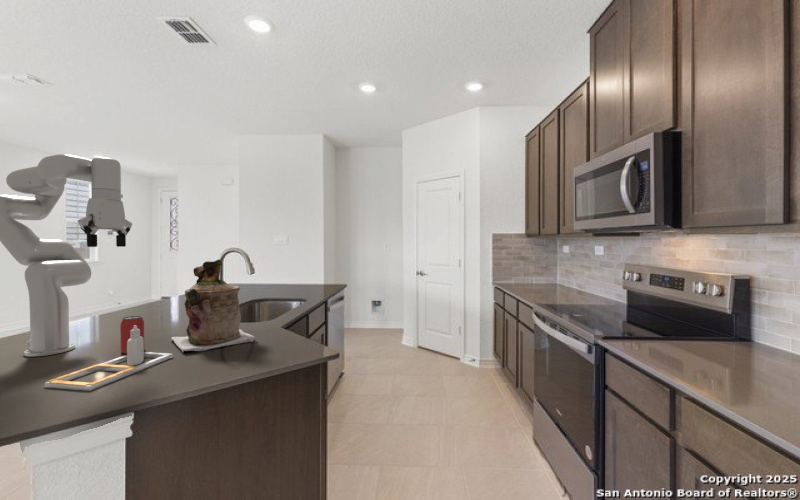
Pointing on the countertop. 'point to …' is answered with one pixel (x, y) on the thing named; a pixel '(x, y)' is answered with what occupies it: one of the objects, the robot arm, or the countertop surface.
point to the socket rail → (106, 366)
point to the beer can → (127, 326)
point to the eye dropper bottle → (135, 348)
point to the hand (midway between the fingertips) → (107, 246)
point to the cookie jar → (211, 312)
